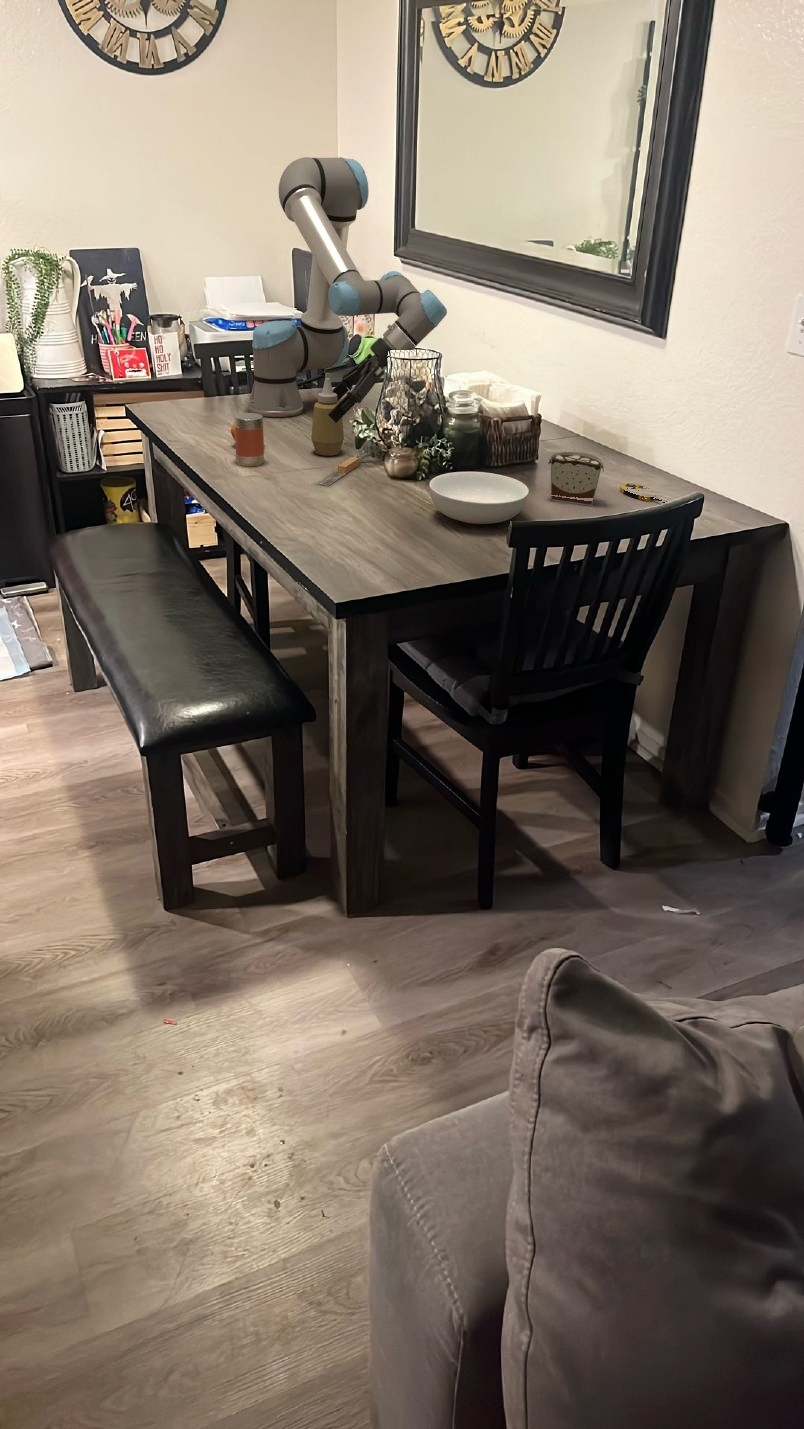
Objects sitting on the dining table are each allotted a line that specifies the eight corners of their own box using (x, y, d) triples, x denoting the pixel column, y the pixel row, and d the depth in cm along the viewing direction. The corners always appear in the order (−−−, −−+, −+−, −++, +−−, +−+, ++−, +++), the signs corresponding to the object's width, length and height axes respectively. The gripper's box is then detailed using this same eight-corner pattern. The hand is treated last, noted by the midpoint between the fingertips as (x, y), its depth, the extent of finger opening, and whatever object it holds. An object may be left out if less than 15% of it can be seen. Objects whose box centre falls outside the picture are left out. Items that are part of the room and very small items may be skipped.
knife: (350, 464, 257) (350, 456, 256) (359, 465, 256) (359, 458, 255) (318, 484, 242) (318, 476, 241) (328, 486, 241) (328, 478, 240)
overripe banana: (631, 480, 247) (680, 498, 237) (630, 488, 248) (678, 506, 238) (616, 483, 245) (665, 501, 234) (615, 491, 246) (663, 510, 235)
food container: (603, 499, 241) (609, 455, 236) (598, 507, 235) (604, 462, 230) (549, 491, 244) (554, 448, 239) (544, 499, 239) (548, 455, 234)
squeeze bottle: (310, 448, 267) (310, 374, 258) (343, 448, 268) (343, 375, 259) (311, 457, 260) (310, 382, 251) (344, 458, 261) (345, 382, 252)
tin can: (244, 457, 259) (242, 411, 253) (269, 460, 257) (268, 414, 251) (230, 464, 253) (228, 417, 248) (256, 468, 251) (254, 421, 246)
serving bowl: (459, 540, 214) (461, 506, 211) (410, 508, 230) (411, 477, 227) (545, 527, 223) (548, 495, 219) (492, 497, 239) (494, 467, 235)
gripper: (373, 326, 263) (313, 388, 268) (389, 346, 242) (323, 413, 247) (394, 349, 267) (334, 410, 272) (411, 370, 245) (345, 436, 250)
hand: (328, 411), depth 259 cm, fingers open, 13 cm apart
